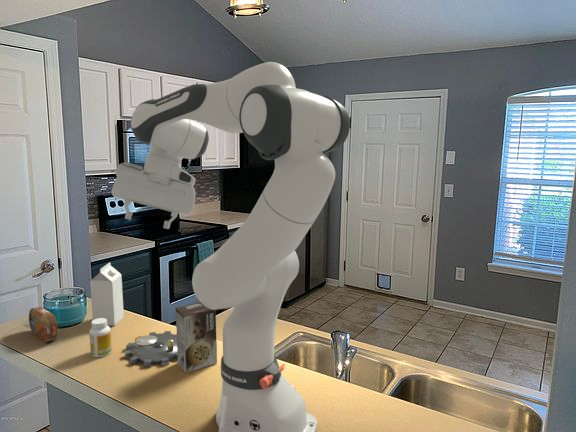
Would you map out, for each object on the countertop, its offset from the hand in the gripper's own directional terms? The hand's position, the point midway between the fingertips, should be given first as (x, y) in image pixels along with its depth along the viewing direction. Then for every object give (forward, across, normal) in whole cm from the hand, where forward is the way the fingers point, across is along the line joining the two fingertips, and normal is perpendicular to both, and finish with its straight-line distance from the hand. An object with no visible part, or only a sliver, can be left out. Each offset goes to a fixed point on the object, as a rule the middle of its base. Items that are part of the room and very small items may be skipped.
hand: (147, 223), depth 109 cm
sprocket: (+32, +13, +19) cm, 40 cm away
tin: (+36, -19, +38) cm, 56 cm away
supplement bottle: (+36, -2, +23) cm, 43 cm away
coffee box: (+33, +22, +9) cm, 41 cm away
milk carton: (+29, -2, +43) cm, 52 cm away
